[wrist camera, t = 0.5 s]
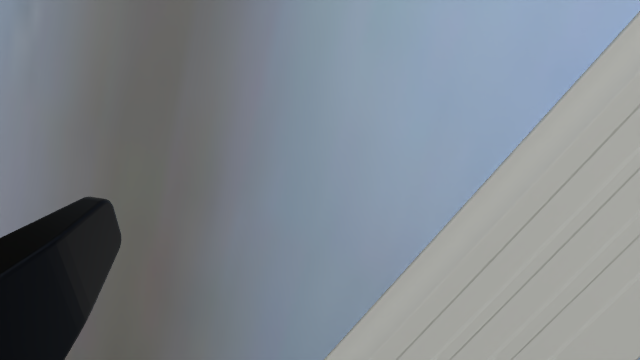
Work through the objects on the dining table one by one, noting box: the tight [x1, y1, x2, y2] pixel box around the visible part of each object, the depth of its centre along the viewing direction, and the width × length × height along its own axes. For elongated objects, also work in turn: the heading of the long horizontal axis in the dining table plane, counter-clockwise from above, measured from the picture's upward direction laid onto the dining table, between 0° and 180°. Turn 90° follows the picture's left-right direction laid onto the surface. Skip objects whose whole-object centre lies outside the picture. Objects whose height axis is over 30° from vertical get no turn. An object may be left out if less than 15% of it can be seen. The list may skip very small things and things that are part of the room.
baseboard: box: [324, 11, 640, 360], centre depth 21 cm, size 30×3×10 cm
